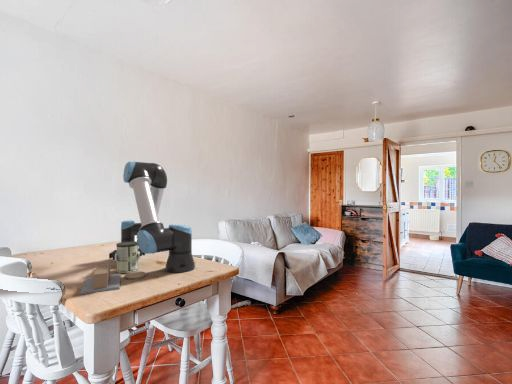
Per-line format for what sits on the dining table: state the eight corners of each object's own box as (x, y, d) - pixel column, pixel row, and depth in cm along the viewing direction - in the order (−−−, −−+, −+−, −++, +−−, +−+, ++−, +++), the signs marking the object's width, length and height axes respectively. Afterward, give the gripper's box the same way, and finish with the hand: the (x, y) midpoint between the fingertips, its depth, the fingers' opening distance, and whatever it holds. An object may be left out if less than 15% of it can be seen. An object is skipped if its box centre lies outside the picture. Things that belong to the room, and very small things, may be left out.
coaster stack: (149, 275, 133) (149, 271, 133) (138, 281, 124) (138, 277, 124) (132, 274, 134) (132, 270, 134) (120, 280, 125) (120, 276, 125)
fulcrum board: (119, 288, 113) (119, 272, 113) (80, 294, 107) (79, 276, 107) (120, 275, 131) (120, 261, 131) (87, 279, 125) (87, 264, 125)
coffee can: (122, 267, 144) (122, 241, 145) (141, 267, 145) (141, 241, 145) (112, 273, 134) (112, 245, 134) (133, 272, 134) (133, 244, 135)
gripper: (148, 253, 161) (151, 262, 140) (105, 257, 151) (101, 267, 131) (148, 241, 161) (151, 247, 140) (105, 244, 151) (101, 252, 131)
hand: (127, 257), depth 136 cm, fingers closed on coffee can, 10 cm apart
